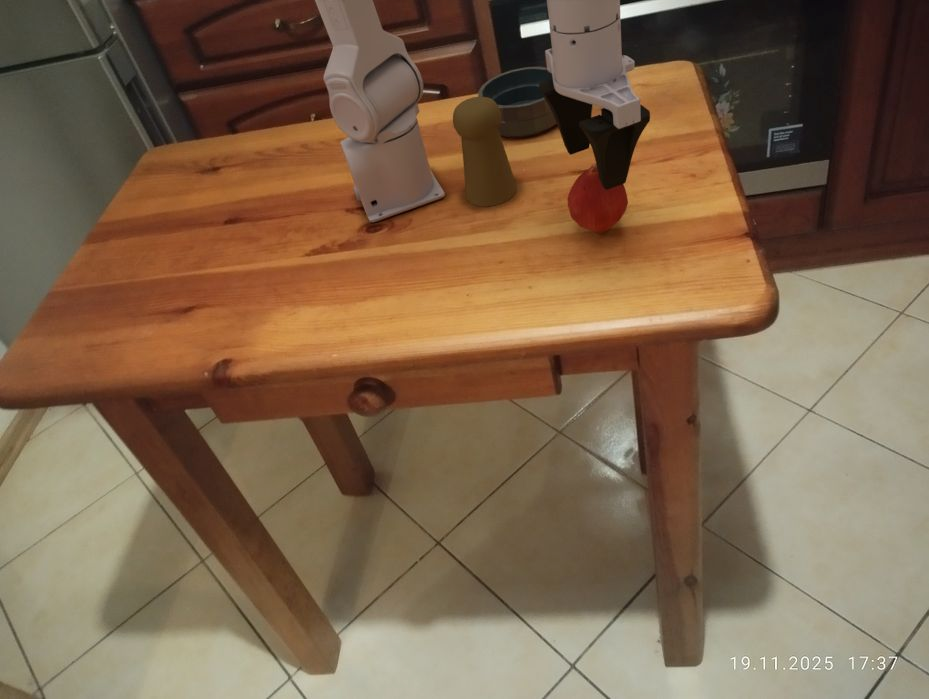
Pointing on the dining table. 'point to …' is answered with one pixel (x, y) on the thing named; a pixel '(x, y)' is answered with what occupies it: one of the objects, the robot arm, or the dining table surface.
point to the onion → (596, 202)
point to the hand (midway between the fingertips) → (595, 166)
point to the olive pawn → (483, 152)
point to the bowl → (520, 101)
